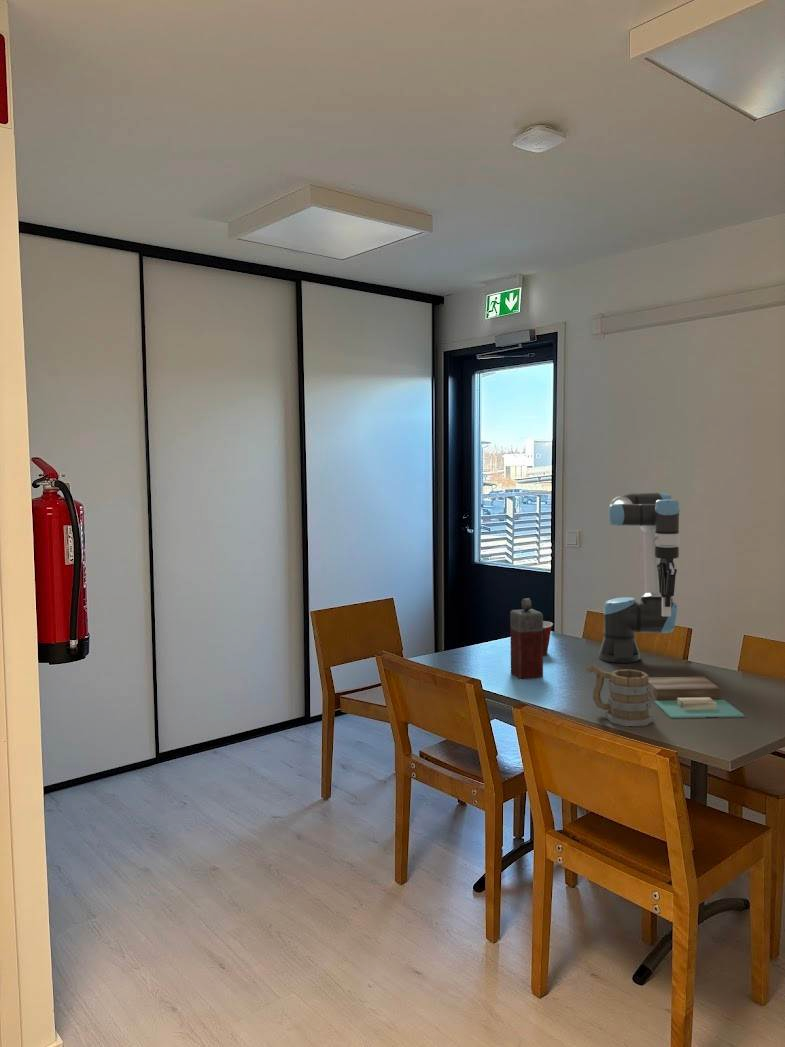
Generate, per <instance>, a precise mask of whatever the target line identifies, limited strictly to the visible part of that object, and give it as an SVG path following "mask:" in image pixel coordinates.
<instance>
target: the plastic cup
mask: <svg viewBox="0 0 785 1047" xmlns="http://www.w3.org/2000/svg"><path fill="white" fill-rule="evenodd" d="M553 625H554V623H553V622H551V621H547V620H546V621H545V620H543V628H545V630H546V633H547V652H548V650H549V644H550V639H551V632H552V627H553Z"/></svg>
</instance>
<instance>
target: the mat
mask: <svg viewBox="0 0 785 1047" xmlns="http://www.w3.org/2000/svg"><path fill="white" fill-rule="evenodd" d="M713 701H715V702H716V703H717V709H716V710H683V709H682V708H681V707H680V706H679V705H678V704H677V700H667V701H655V700H653V702H654V704H655V705H656V706H657V707H658V708H660V710H662V712H664V714H666V715H667V716H668V717H669V719H692V718H693V719H695V718H696V719H700V718H701V719H706V717H718V718H745V717H746V716H745V714H743V713H742V712H741V711H740V710H738V709H737V708H736V707H734V706H733V705H731V704H730V703H729V702H728V701H726V700H725V699H720V700H713Z"/></svg>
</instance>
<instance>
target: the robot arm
mask: <svg viewBox="0 0 785 1047" xmlns="http://www.w3.org/2000/svg"><path fill="white" fill-rule="evenodd" d="M680 509H681V508H680V503H679V500H677V499H673V498H672V496H671V495H670V494H669V493H666V492H665V493H661V492H650V493H649V492H647V493H644V492H643V493H625V494H622V495H618V496H616V497H614V498H613V499H611V501H610V502H609V504H608V507H607V511H608V524H609V525H610V526H617V527H621V526H623V527H624V526H626V527H627V526H629V527H630V526H631V527H632V526H635V527H636V526H639V529H641V531H642V532H643V551H644V552H643V555H644V556H643V557H644V564H643V565H644V593H643V594H642V595H641V596H640V601H637V600H636V598H635V597H630V596H629V597H627V596H625V597H616V598H615V597H614V598H612V599H609V600H606V601H605V602H604V604H603V614H602V615H603V640H602V642H601V645H600V649H599V652H598V658H599V659H600V660H601V659H602V660H601V661H605V662H608V663H615V662H616V663H618V664H627V663H628V664H630V662H631V663H635V662H638V660H639V659H641V658H640V656H641V655H640V651H639V648H638V647H639V646H638V644H637V641H636V633H650V634H651V633H653V634H670V633H672V632H673V631H674V630H675V626H676V622H677V621H676V620H677V614H678V604H677V602H675V601H674V600H673V599H674V598H673V597H674V596H675V586H676V585H675V584H676V576H677V573H678V571H677V568H675V562H674V559H678V558H679V555H680V548H679V545H680V533H679V532H680V531H679V530H680V529H679V528H680ZM639 661H640V660H639Z"/></svg>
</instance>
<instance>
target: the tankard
mask: <svg viewBox="0 0 785 1047" xmlns="http://www.w3.org/2000/svg"><path fill="white" fill-rule="evenodd" d="M585 670H586V672H587V673H588V674H589V673H594V674H596V677H595V678H596V680H595V685H594V688H593V690H592V700H593V702H594V704H595V706H596V708H598V709H601V710H604V711H606V712H605V718H606V719H607V720H608V721H609V722H610V723H611V724H613V725H617V724H618V725H617V726H622V727H626V726H627V728H629V727H628V726H636V727H646V726H647V725H649V724H651V723H653V722H654V716H653V715H652V714H651V713H650V712H649V709H650V708H651V707H652V706H651V705H652V702H651V701H652V700H651V699H650V698H649V694H648V692H650V691H651V684H650V683H649V678H650V676H649V674H647V673H646V672H644V671H642V670H641V671H640V670H637V669H616V670H613V671H612V672H609V671H605V670H603V669H601V668H600V667H599V666H597V665H596V664H591V665H590V666H587V667H585ZM605 679H609V680H608V681H607V687H608V690H610V692H609V693H610V694H609V696H608V697H607V702H604V701H602V697H601V692H602V689H603V686H604V681H605Z"/></svg>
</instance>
